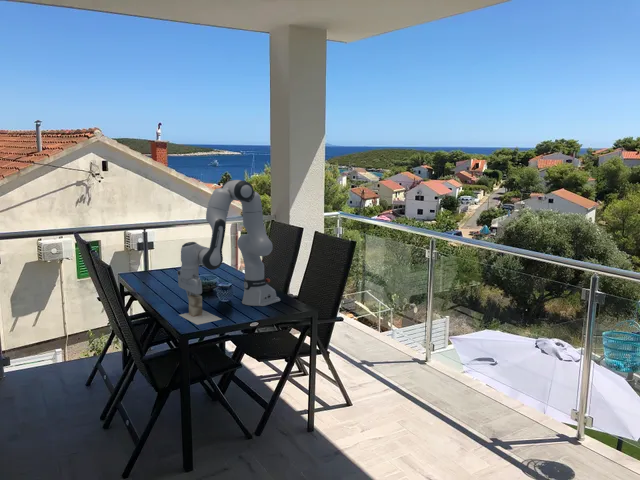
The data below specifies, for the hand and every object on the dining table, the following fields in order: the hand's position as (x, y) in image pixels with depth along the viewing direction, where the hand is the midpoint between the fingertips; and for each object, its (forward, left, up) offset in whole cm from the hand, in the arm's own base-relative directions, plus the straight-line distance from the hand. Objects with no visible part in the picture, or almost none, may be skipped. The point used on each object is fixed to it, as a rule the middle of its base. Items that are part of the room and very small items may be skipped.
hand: (190, 299), depth 250 cm
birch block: (0, +5, -7) cm, 9 cm away
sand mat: (0, +10, -8) cm, 13 cm away
